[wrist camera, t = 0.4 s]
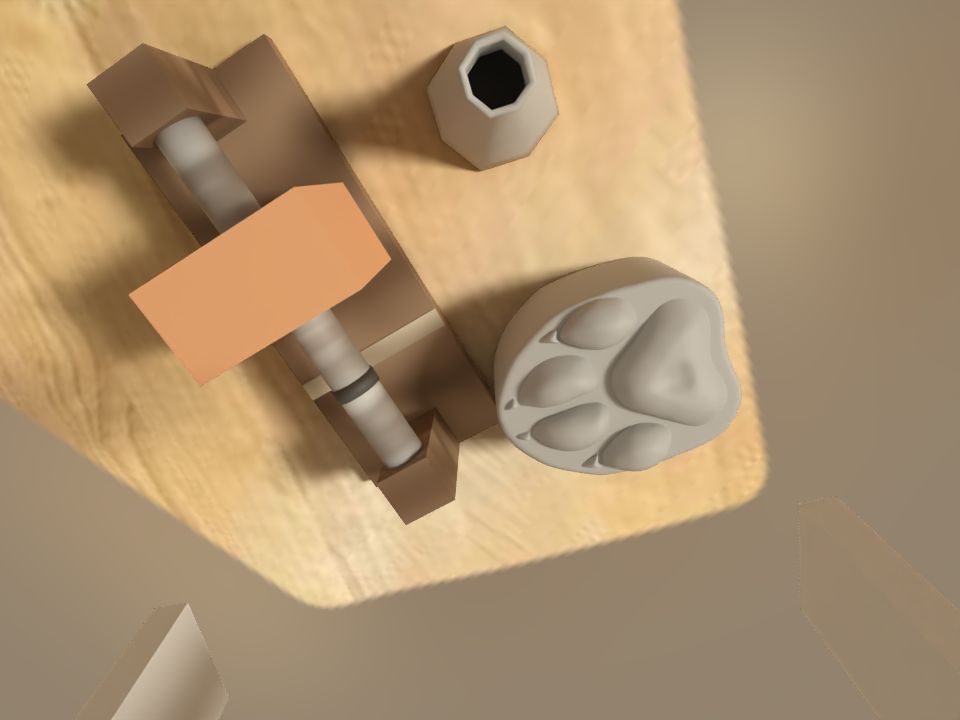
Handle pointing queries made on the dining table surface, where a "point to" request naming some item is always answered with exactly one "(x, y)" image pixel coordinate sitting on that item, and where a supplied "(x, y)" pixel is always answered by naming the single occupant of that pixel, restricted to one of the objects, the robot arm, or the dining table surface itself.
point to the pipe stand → (349, 324)
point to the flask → (493, 98)
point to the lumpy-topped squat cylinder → (615, 369)
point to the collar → (262, 278)
